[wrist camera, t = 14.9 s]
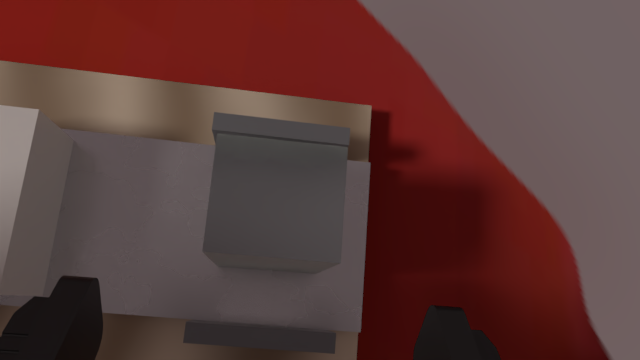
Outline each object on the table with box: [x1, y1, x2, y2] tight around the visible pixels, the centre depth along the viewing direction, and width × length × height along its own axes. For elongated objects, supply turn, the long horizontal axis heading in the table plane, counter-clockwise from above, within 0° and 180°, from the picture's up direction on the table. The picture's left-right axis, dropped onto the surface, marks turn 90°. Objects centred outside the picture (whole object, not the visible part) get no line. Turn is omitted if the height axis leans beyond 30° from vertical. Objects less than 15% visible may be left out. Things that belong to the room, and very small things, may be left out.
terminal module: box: [202, 133, 348, 274], centre depth 21 cm, size 4×4×7 cm
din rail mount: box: [0, 61, 371, 360], centre depth 22 cm, size 20×14×6 cm
